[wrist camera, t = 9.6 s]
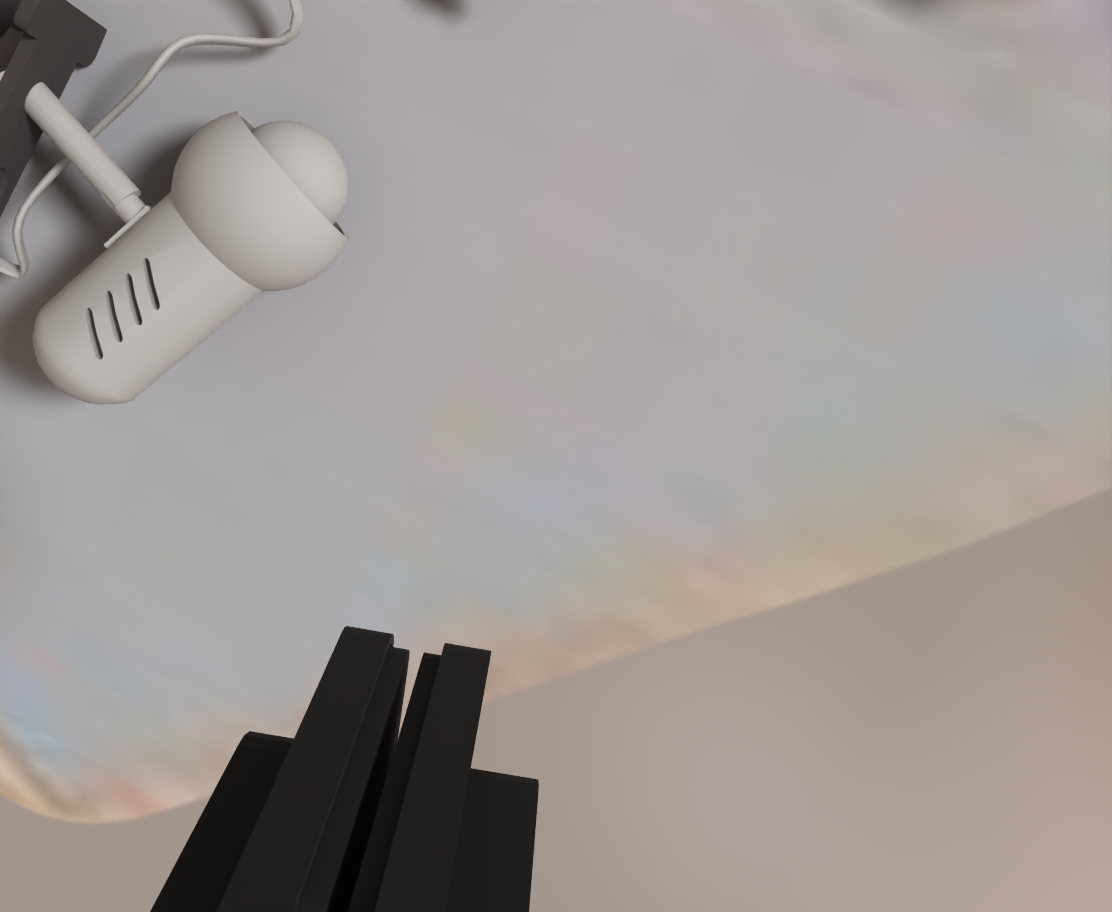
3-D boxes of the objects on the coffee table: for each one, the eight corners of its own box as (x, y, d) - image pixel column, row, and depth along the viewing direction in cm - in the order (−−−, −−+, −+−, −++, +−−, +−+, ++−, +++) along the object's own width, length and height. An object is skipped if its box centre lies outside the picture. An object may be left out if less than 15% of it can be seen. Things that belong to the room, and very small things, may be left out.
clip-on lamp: (314, -245, 29) (-129, 149, 30) (267, -397, 22) (-293, 110, 23) (565, 78, 31) (144, 438, 32) (585, 22, 24) (59, 474, 25)
